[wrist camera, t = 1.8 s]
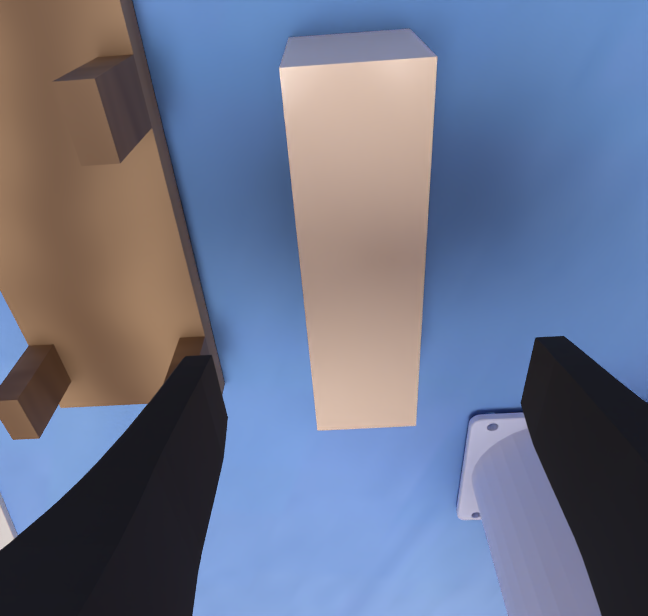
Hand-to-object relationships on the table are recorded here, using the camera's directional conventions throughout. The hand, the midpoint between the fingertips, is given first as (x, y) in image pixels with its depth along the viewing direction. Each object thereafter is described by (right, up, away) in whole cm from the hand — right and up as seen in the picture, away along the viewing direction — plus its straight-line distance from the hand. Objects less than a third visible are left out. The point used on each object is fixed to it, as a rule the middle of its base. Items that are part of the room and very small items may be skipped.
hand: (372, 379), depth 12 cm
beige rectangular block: (0, +5, +7) cm, 8 cm away
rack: (-9, +4, +7) cm, 12 cm away
